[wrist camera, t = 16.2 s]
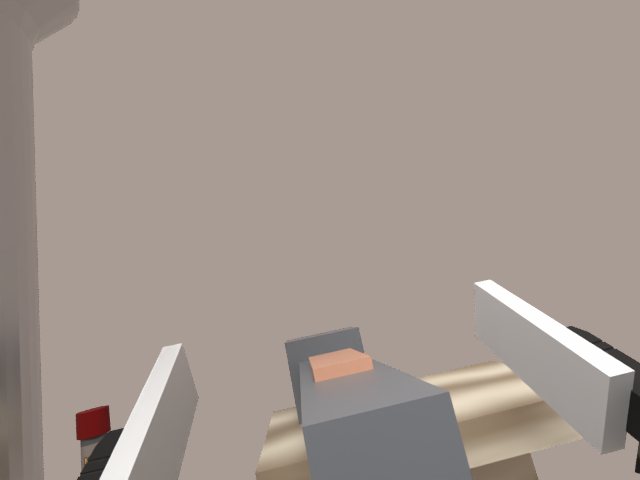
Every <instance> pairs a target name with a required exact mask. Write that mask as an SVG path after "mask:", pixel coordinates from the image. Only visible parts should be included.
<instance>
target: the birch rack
mask: <svg viewBox="0 0 640 480" xmlns="http://www.w3.org/2000/svg"><path fill="white" fill-rule="evenodd" d="M418 379H421V380H423V381H425V382H428V383H430V384H432V385H435V386H437V387H440V388H442V389H444V390H447V391H449V393H450V397H451V400H452V404H453V408H454V411H455V415H456V419H457V423H458V426H459V430H460V434H461V438H462V441H463V445H464V449H465V452H466V456H467V460H468V464H469V467H470V471H471V475H472V478H473V480H538V477H537V474H536V470H535V467H534V464H533V461H532V458H531V454H530V452H534V451H538V450H542V449H545V448H549V447H553V446H557V445H560V444H564V443H568V442H571V441H575V440H579V439H583V437H582V436H581V435H580V434H579V433H578V432H577V431H575V430H574V429H573V428H572V427H571V426H570V425H569V424H568V423H567V422H566V421H565V420H564V419H563V418H562V417H561V416H560V415H558V414H557V413H556V412H555V411H554V410H553V409H552V408H551V407H550V406H549V405H548V404H547V403H546V402H545V401H544V400H542V399H541V398H540V397H539V396H538V395H537V394H536V393H535V392H534V391H533V390H532V389H531V388H530V387H529V386H528V385H527V384H525V383H524V382H523V381H522V380H521V379H520V378H519V377H518V376H517V375H516V374H515V373H514V372H513V371H512V370H511V369H510V368H508V367H507V366H506V365H505V364H504V363H500V362H494V361H488V362H484V363H480V364H475V365H471V366H466V367H462V368H458V369H454V370H450V371H445V372H441V373H437V374H432V375H428V376H424V377H420V378H418ZM256 479H257V480H311V474H310V469H309V463H308V458H307V452H306V446H305V441H304V435H303V430H302V424H300V425H299V421H298V415H297V409H296V407H292V408H287V409H283V410H279V411H275V412H273V415H272V418H271V422H270V425H269V429H268V432H267V436H266V440H265V443H264V446H263V450H262V453H261V456H260V460H259V464H258V467H257V470H256Z"/></svg>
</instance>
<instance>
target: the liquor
mask: <svg viewBox="0 0 640 480" xmlns="http://www.w3.org/2000/svg"><path fill="white" fill-rule="evenodd" d="M110 430H111V428H110V416H109V406H101V407H97V408H93V409H90V410H86V411H83V412H79V413H77V414H76V433H77V440H81V466H82V470H83V468H84V466H85V464H87V460H88V459H89V457H90V455H91V453H92V451H93V450H94V448H95V446H96V445H97V444H98V443H99V442H100V441H101V439H102V438H103V437H104V436H105V435H106V434H107V432H109V431H110Z"/></svg>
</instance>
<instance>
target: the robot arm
mask: <svg viewBox="0 0 640 480" xmlns="http://www.w3.org/2000/svg"><path fill="white" fill-rule="evenodd" d="M78 11H79V0H0V480H44V468H43V433H42V397H41V363H40V328H39V327H40V325H39V289H38V257H37V255H38V253H37V220H36V219H37V218H36V182H35V148H34V147H35V146H34V113H33V112H34V111H33V78H32V76H33V74H32V50H33V48H34V45H35V44H36V43H38V42H40V41H42V40H43V39H45V38H47V37H48V36H50V35H52V34H54V33H56V32H57V31H59V30H61V29H63V28H64V27H66V26H68V25H69V24H71V23H72V22H73V20H74V19H75V18H76V17H77V14H78ZM474 295H475V297H474V298H475V336H476V337H477V338H478V339H479V340H480V341H481V342H482V343H483V344H484V345H485V346H486V347H487V348H488V349H490V351H491V352H493V353H494V354H495V355H496V356H497V357H498V358H499V359H500V360H501V361H502V362H503V363H504V364H505V365H506V366H507V367H508V368H510V369H511V370H512V371H513V372H514V373H515V374H516V375H517V376H518V377H519V378H520V379H521V380H522V381H523V382H524V383H525V384H527V385H528V386H529V387H530V388H531V389H532V390H533V391H534V392H535V393H536V394H537V395H538V396H539V397H540V398H541V399H542V400H544V401H545V402H546V403H547V404H548V405H549V406H550V407H551V408H552V409H553V410H554V411H555V412H556V413H557V414H558V415H560V416H561V417H562V418H563V419H564V420H565V421H566V422H567V423H568V424H569V425H570V426H571V427H572V428H573V429H574V430H575V431H577V432H578V433H579V434H580V435H581V436H582V437H583V438H584V439H585V440H586V441H587V442H588V443H589V444H590V445H592V447H594V448H595V449H596V450H597V451H598V452H599V453H600V454H601V455H602V454H606V453H610V452H613V451H618V450H621V449H624V448H625V441H626V434H627V432H628V433H629V434H630V435H631V436H633V437H634V438H635V439H636V440H638V441H639V446H638V453H637V459H636V468H635V472H636V473H640V363H639V362H637V361H636V360H634V359H632V358H631V357H629V356H627V355H625V354H624V353H622V352H621V351H619V350H617V349H614V348H613V347H612V346H611V345H609V344H607V343H606V342H602V340H601V339H599V338H597V337H595V336H594V335H592V334H591V333H589V332H587V331H584V330H581V329H578V328H575V327H573V326H569V327H564V326H563V325H561V324H559V323H558V322H556V321H555V320H553V319H552V318H550V317H549V316H547V315H545V314H544V313H542V312H541V311H539V310H537V309H536V308H534V307H533V306H531V305H529V304H528V303H526V302H525V301H523V300H522V299H520V298H518V297H517V296H515V295H514V294H512V293H510V292H509V291H507V290H505V289H504V288H502V287H501V286H499V285H498V284H496V283H494V282H493V281H491V280H487V281H482V282H477V283H474ZM197 401H198V395H197V391H196V388H195V384H194V381H193V378H192V374H191V371H190V368H189V365H188V361H187V358H186V354H185V351H184V348H183V344H182V343H181V344H176V345H171V346H166V347H163V349H162V351H161V353H160V355H159V357H158V359H157V361H156V363H155V365H154V367H153V369H152V371H151V374H150V376H149V378H148V380H147V382H146V384H145V386H144V388H143V390H142V392H141V394H140V396H139V398H138V400H137V403H136V405H135V407H134V409H133V411H132V413H131V415H130V417H129V419H128V422H127V423H126V425H125V428H122V429H118V430H113V431H109V432H108V433H107V434H106V435H105V436H104V437H103V438H102V439H101V441H100V442H99V443H98V444H97V445H96V446H95V448H94V450H93V451H92V453H91V455H90V457H89V459H88V460H87V464H85V466H84V468H83V470H82V472H81V473H80V474H81V475H80V477H78V479H77V480H178V477H179V473H180V469H181V465H182V461H183V457H184V453H185V449H186V445H187V441H188V437H189V433H190V429H191V425H192V422H193V417H194V413H195V410H196V406H197Z"/></svg>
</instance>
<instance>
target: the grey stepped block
mask: <svg viewBox="0 0 640 480" xmlns="http://www.w3.org/2000/svg"><path fill="white" fill-rule="evenodd" d="M285 347H286V353H287V358H288V364H289V370H290V375H291V381H292V386H293V392H294V398H295V404H296V409H297V415H298V421H299V425H300V424H302V430H303V435H304V441H305V446H306V452H307V458H308V463H309V469H310V474H311V480H473V478H472V475H471V471H470V467H469V464H468V460H467V456H466V452H465V449H464V445H463V441H462V438H461V434H460V430H459V426H458V423H457V419H456V415H455V411H454V408H453V404H452V400H451V397H450V393H449V391H447V390H444V389H442V388H440V387H437V386H435V385H432V384H430V383H428V382H425V381H423V380H421V379H418V378H416V377H413V376H411V375H409V374H406V373H404V372H402V371H399V370H397V369H395V368H392V367H390V366H387V365H385V364H383V363H380V362H378V361H376V360H373V359H371V356H369V355H366V354H364V350H363V345H362V341H361V337H360V332H359V328H358V327H348V328H343V329H339V330H334V331H330V332H325V333H320V334H315V335H311V336H306V337H301V338H297V339H292V340H288V341H286V342H285Z"/></svg>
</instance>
